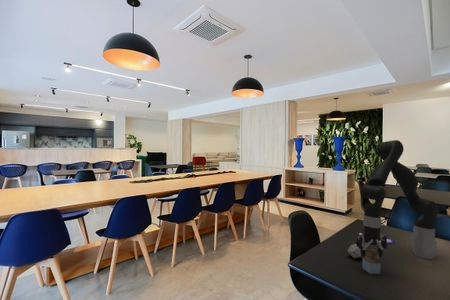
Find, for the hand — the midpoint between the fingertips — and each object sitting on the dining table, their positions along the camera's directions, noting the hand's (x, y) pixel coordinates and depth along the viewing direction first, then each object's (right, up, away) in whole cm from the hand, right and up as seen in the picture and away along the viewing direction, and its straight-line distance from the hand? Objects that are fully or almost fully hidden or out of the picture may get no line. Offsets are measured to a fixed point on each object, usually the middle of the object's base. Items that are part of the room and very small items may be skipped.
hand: (371, 256), depth 111 cm
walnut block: (0, -2, 0) cm, 2 cm away
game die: (0, -8, +13) cm, 15 cm away
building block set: (+33, -9, +43) cm, 55 cm away
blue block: (0, -7, 0) cm, 7 cm away
